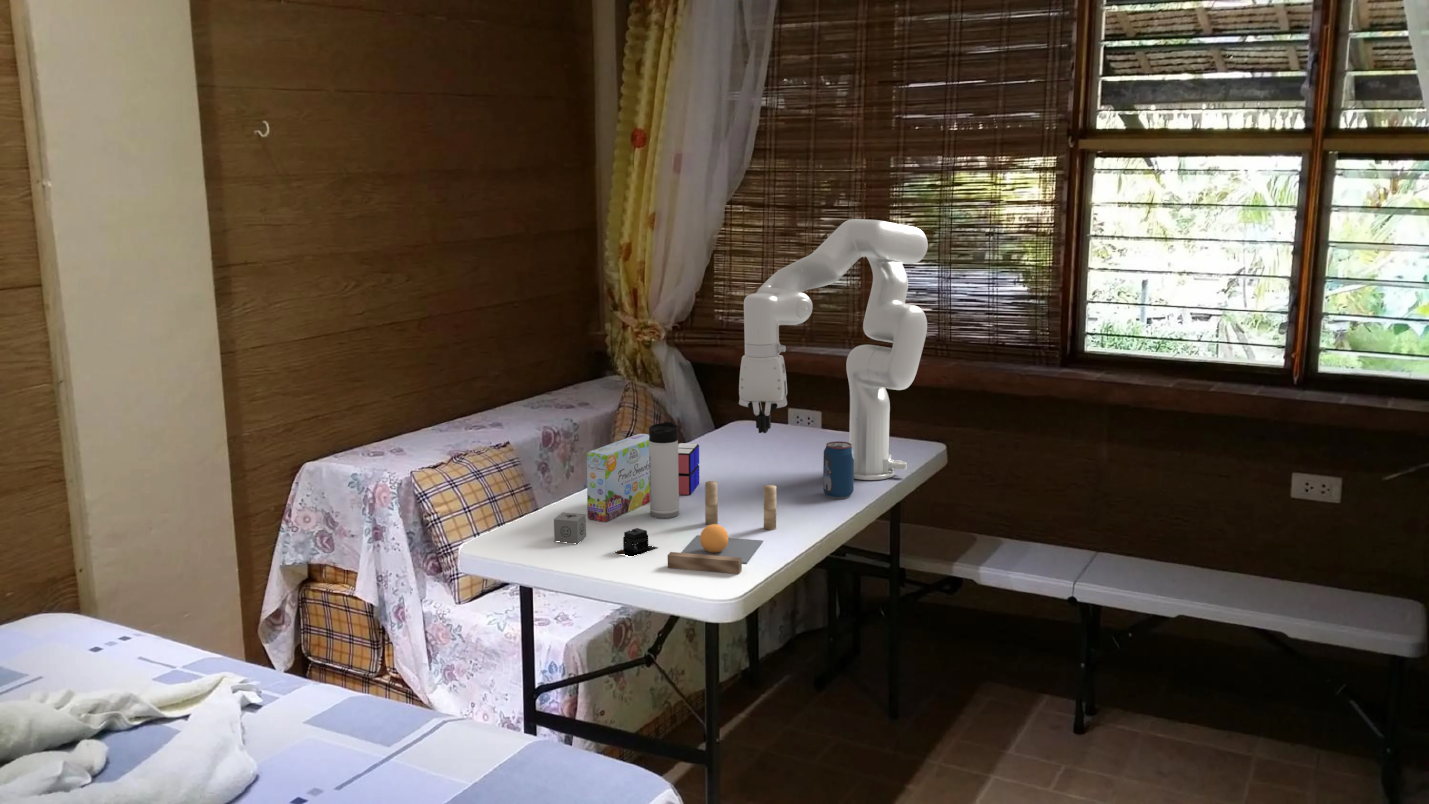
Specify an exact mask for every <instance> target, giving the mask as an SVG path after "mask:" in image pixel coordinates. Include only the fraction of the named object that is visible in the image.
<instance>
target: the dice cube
mask: <svg viewBox="0 0 1429 804" xmlns="http://www.w3.org/2000/svg"><path fill="white" fill-rule="evenodd" d="M586 514H587V513H577V512H561V513H559V514H558V515H557V516H556V517H554V518H553V533H554V534H553V537H554V542H555V541H560V542H567V543H576V544H575V545H579V544H580V543H581V542H582V541H584V540H585V539H586V538H587V517H586V516H587V515H586ZM585 537H586V538H585ZM584 538H585V539H584ZM580 541H581V542H580ZM579 542H580V543H579ZM578 543H579V544H578Z"/></svg>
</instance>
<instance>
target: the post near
mask: <svg viewBox="0 0 1429 804" xmlns="http://www.w3.org/2000/svg"><path fill="white" fill-rule="evenodd" d="M763 529H764V530H766V531H768V530H769V531H773V530H774V531H775V530H776V529H777V485H774V484H767V485H764V486H763Z"/></svg>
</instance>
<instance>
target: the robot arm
mask: <svg viewBox="0 0 1429 804" xmlns="http://www.w3.org/2000/svg"><path fill="white" fill-rule="evenodd" d="M928 247H929V244H928V238H927V236H926V234H925V232H924V231H923V230H921V229H920V228H918V227H915V226H911V225H904V224H900V223H895V222H891V221H890V222H889V221H885V220H878V219H867V218H866V219H862V218H852V219H851V218H850V219H848V220H846V221H844V222H843V223H841V224H840V225H839V226H838V227H837V228H836V229H835V230H833V232H832V233H831V234H830V235H829V236H828V237H827V238H826V239H825V240H824V241H823V242H822V243H821V244H820V245H818V247H817V248H816V249H815V250H813V252H812V253H811V254H809V255H807V256H805V257H802V258H799V259H798V260H796V261H794V262H793V263H790V264H788V265H786V266H784V267H782V268H781V269H779V270H776V272H775V273H773V274H772V275H771V276H770V277H769V278H768V279H767V280H766V281H765V282H764V283H763V284H762V285H760V287H759V288H758V289H757V291H756V292H755V293H751V294H748V295H746V296H745V298H744V300H743V322H744V323H743V325H744V326H743V328H744V331H743V332H744V355H743V356H741V362H740V370H739V380H738V381H739V382H738V395H739V396H738V397H739V401H738V405H739V406H742V407H746V408H749V409H750V410H751V412H752V413H753V414H754V415H755V428H756V429H758V430H757V431H758V434H767V432H768V431H769V430H770V429H771V425H772V423H771V422H772V418H771V414H772V413H773V412H774V411H775V410H776V409H780V408H784V407H786V406H787V405H788V400H787V395H788V383H787V373H786V372H787V370H786V364H785V359H784V358H785V357H784V356H783V355H780V353H785V352H786V350H787V349H786V345H783V344H781V343H780V337H779V336H780V332H779V331H780V330H779V329H780V327H779V326H781V325H783V326H784V325H787V326H788V325H792V326H797V325H799V324H803V323H804V322H806V321H807V320H808V319H809V318H810V316H811V315H812V313H813V308H814V307H813V301H812V298H810V296H809V295H807V294H806V293H805V292H804V291H808V290H813V289H816V288H822V287H825V286H826V287H827V286H828V285H832V284H834V283H836V282H838V281H839V280H840V279H841V278H842V277H843V276H844V275H845V274H846V272H847V271H849V269H850V268H851V267H853V265H855V263H856V262H858V260H860V259H861V258H863V257H865V258H866V259H867V261H868V263H869V265H870V268H871V272H872V285H871V290H870V294H869V297H868V301H867V306H866V310H865V314H864V318H863V324H862V329H863V332H864V335H866V337H868V338H870V339H872V340H875V341H881V342H887V343H891V344H892V347H887V346H882V345H881V346H880V345H875V344H861V345H858V346H855V347H854V348H852V350H851V351H850V352H849V353H848V356H847V358H846V364H845V365H846V366H845V368H846V375H847V379H848V386H849V437H848V438H849V442H848V443H851V444H852V446H851V447H852V449H853V451H854V480H860V481H862V480H863V481H877V480H878V481H879V480H886V479H890V478H892V477H894V476H895V473H896V472H895V470H901V471H906V470H907V466H908V465H907V464H908V463H907V461H904V460H901V459H897V460H894V458H892V453H889V452H890V451H889V450H890V449H889V448H890V447H889V446H890V445H889V443H890V412H891V406H890V405H891V403H890V398H889V393H888V391H887V389H888V390H894V391H895V390H896V391H902V390H906V389H908V388H909V387H910V386H911V385H912V383H913V382H914V380H915V377H916V375H917V374H918V373H917V372H918V369H919V365H920V362H921V357H922V353H923V349H924V347H925V346H924V345H925V342H926V337H927V332H928V320H927V316H926V314H925V312H924V310H923V309H922V308H920V307H919V306H917V305H914V304H909V303H906V299H907V294H908V290H909V278H908V274H907V272H906V270H905V267H904V265H903V264H905V265H909V264H910V265H912V264H913V265H914V264H917V263H919V262H921V261H922V260H923V259H924V258H925V256H926V254H927V252H928V249H929V248H928ZM762 403H765V404H764V405H765V406H764V410H763V408H762Z"/></svg>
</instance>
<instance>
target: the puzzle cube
mask: <svg viewBox="0 0 1429 804" xmlns="http://www.w3.org/2000/svg"><path fill="white" fill-rule="evenodd" d="M699 464H700V445H699V444H698V443H688V442H687V443H686V442H685V443H683V442H680V443H679V442H678V477H679V496H691V495H692V493H694V491H695V490H696V488H697V487H698V486H699V485H700V465H699Z"/></svg>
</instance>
